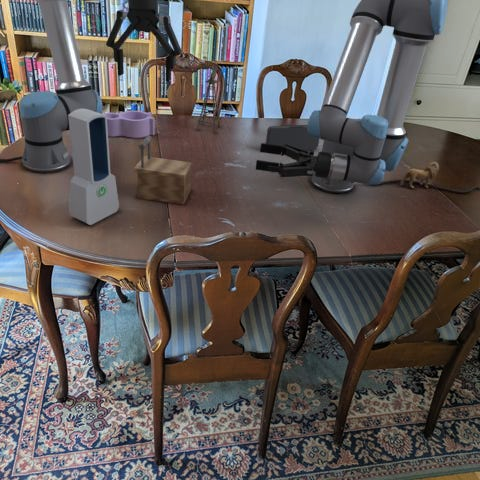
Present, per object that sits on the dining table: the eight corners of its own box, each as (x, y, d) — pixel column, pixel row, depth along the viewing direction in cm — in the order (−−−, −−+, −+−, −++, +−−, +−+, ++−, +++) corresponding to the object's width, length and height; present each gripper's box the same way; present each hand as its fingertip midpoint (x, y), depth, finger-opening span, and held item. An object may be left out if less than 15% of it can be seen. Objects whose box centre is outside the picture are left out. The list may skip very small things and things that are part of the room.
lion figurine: (427, 181, 177) (434, 159, 172) (436, 187, 173) (444, 165, 168) (395, 184, 172) (401, 161, 167) (403, 190, 168) (411, 167, 163)
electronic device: (87, 227, 129) (77, 121, 112) (68, 218, 132) (56, 113, 115) (120, 210, 138) (114, 110, 122) (101, 202, 141) (94, 103, 125)
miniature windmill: (215, 133, 199) (220, 59, 183) (196, 130, 200) (199, 56, 184) (220, 126, 207) (225, 55, 190) (201, 123, 208) (205, 52, 191)
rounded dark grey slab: (315, 147, 196) (319, 124, 190) (317, 149, 194) (322, 126, 188) (264, 149, 189) (267, 125, 183) (266, 152, 187) (269, 127, 181)
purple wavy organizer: (104, 138, 183) (103, 121, 179) (102, 127, 192) (100, 111, 189) (155, 137, 189) (155, 120, 185) (150, 126, 199) (150, 110, 195)
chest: (138, 198, 146) (137, 172, 141) (147, 184, 154) (146, 159, 149) (183, 204, 145) (184, 178, 140) (190, 190, 153) (191, 166, 148)
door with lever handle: (134, 171, 141) (133, 144, 136) (143, 159, 149) (143, 133, 144) (184, 178, 140) (185, 151, 135) (191, 165, 148) (192, 139, 143)
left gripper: (194, -4, 121) (191, 79, 133) (101, -15, 123) (106, 69, 134) (187, -1, 115) (185, 86, 126) (89, -13, 116) (96, 75, 128)
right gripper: (328, 196, 128) (252, 185, 130) (326, 161, 149) (261, 152, 151) (334, 171, 124) (255, 160, 126) (331, 139, 145) (263, 129, 147)
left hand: (144, 77), depth 130 cm, fingers open, 13 cm apart
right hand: (258, 155), depth 138 cm, fingers open, 13 cm apart
